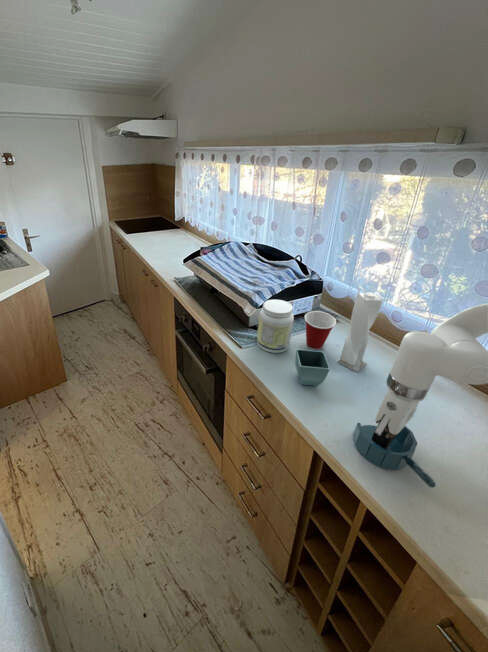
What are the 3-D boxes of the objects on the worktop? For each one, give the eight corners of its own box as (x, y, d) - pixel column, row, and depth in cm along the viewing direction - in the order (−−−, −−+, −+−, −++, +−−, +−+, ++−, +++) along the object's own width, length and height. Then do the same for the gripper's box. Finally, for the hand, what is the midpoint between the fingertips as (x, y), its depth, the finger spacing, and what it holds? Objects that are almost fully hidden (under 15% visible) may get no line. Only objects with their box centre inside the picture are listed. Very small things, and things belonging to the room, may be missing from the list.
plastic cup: (299, 351, 113) (305, 323, 107) (299, 335, 122) (304, 309, 116) (331, 356, 110) (338, 328, 104) (328, 339, 119) (335, 313, 114)
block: (378, 431, 78) (382, 421, 77) (393, 440, 76) (398, 431, 74) (371, 438, 77) (375, 428, 75) (386, 448, 74) (391, 438, 72)
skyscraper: (332, 360, 108) (352, 289, 95) (343, 351, 112) (363, 282, 99) (357, 372, 102) (381, 298, 89) (367, 362, 107) (392, 290, 93)
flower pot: (324, 391, 95) (330, 369, 91) (295, 388, 96) (300, 366, 92) (318, 372, 103) (324, 351, 98) (291, 370, 104) (295, 348, 100)
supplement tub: (265, 332, 125) (270, 295, 117) (294, 343, 117) (301, 304, 109) (250, 345, 116) (254, 306, 108) (279, 358, 109) (286, 318, 101)
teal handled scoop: (449, 489, 68) (459, 474, 65) (405, 505, 65) (413, 490, 62) (380, 422, 84) (386, 408, 82) (342, 432, 81) (347, 418, 79)
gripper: (409, 412, 61) (382, 469, 69) (441, 378, 69) (413, 433, 78) (370, 390, 66) (350, 446, 75) (405, 361, 74) (383, 414, 83)
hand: (383, 438), depth 76 cm, fingers closed on block, 3 cm apart
